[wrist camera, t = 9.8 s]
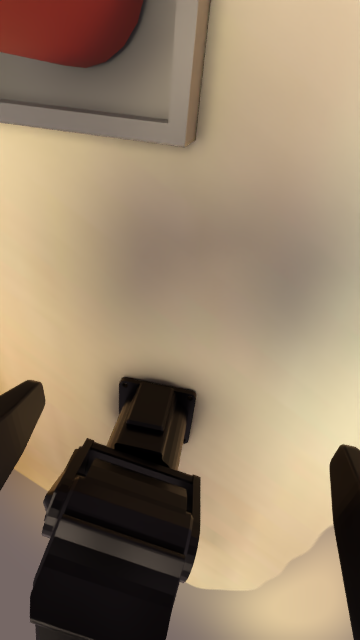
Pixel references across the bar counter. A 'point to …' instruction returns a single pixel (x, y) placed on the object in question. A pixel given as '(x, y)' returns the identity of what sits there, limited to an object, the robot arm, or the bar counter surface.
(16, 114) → the tray
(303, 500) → the bar counter surface
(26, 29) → the beer can
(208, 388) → the bar counter surface
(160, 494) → the robot arm
